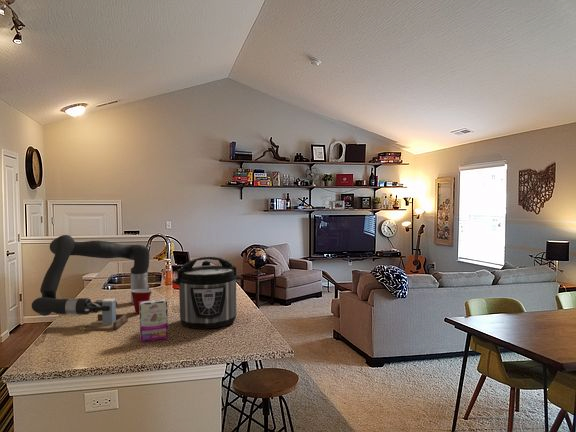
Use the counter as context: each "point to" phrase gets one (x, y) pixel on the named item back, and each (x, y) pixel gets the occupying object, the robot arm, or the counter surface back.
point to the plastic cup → (140, 297)
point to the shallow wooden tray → (99, 326)
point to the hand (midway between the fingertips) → (113, 306)
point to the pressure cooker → (207, 293)
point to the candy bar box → (153, 320)
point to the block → (109, 316)
